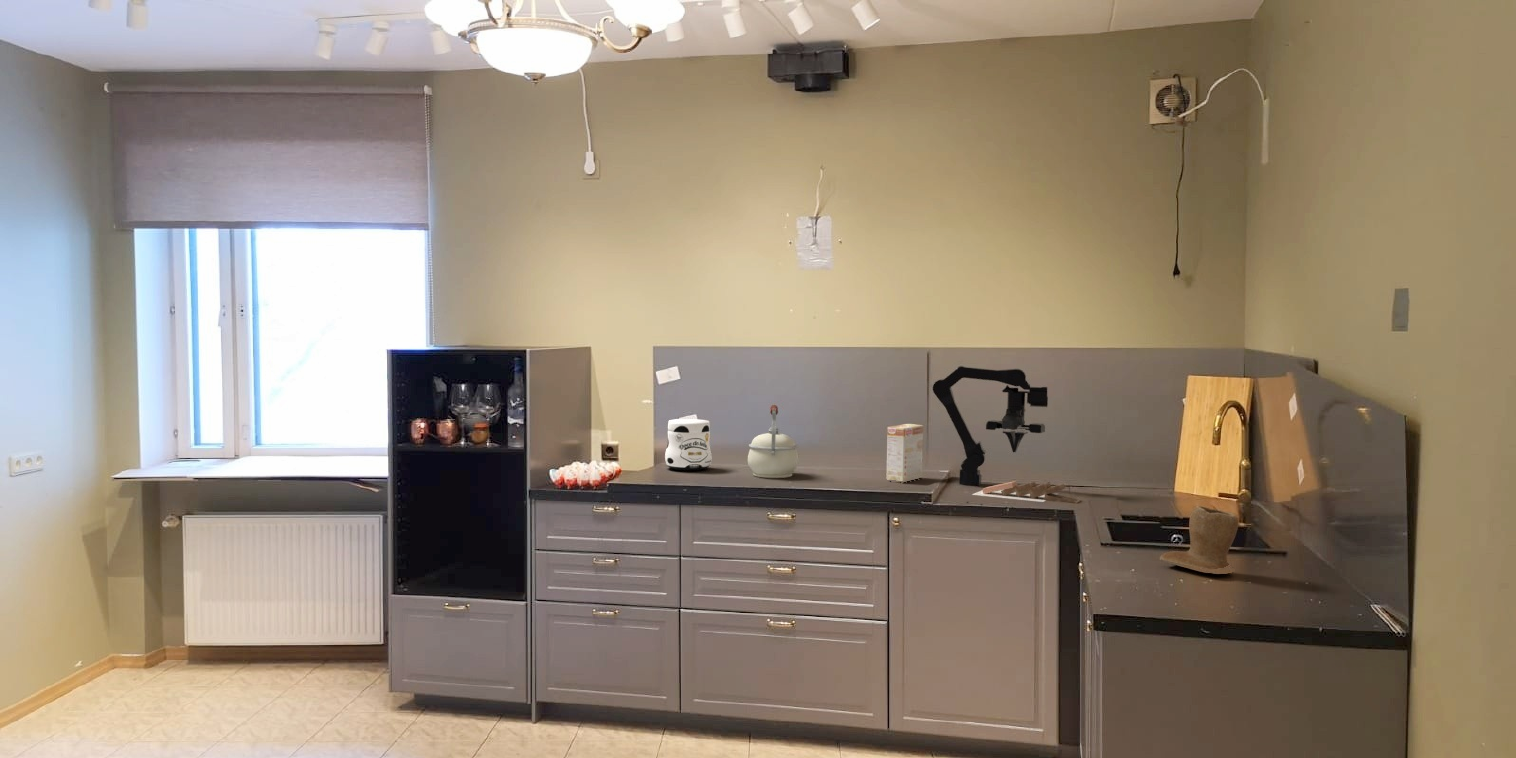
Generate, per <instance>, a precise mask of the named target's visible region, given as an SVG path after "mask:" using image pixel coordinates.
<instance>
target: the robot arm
mask: <svg viewBox="0 0 1516 758" xmlns="http://www.w3.org/2000/svg"><path fill="white" fill-rule="evenodd" d="M1026 376H1027V375H1026V373H1025V372H1024V370H1023V369H1020V368H1007V369H988V368H980V367H979V368H978V367H971V366H970V367H969V366H963V365H960V366H957V367H956V368H955V370H954V371H952V372H951V373H950V374H949V375H947V376H946V377H945V378H940V379H938V380H936V381H935V382H933V385H932V391H933V394H934V395H935V396H936V398H937V399H938V401H939V402H940V403H941V405H943V406H944V407H945V409H946V412H947V414H948V416H949V418H950V420H951V422H952V424H953V426H954V428H955V431H956V432H957V435H958V436H959V438H960V441H961V442H962V445H963V448H964V454H965V457H966V458H965V459H964V460H963V461H962V463H960V469H959V485H961V486H967V487H980V486H982V477H983V476H982V474H981V469H978V468H979V467H981V466H982V465H983V464H984V462H985V460H986V450H985V449H984V448H983V444H982V441H981V440H980V441H978V442H977V441H976V440H975V438H974V437H973V436H972V433H971V431H970V429H969V427H968V425H967V423H966V421H965V419H964V417H963V415H962V413H961V411H960V408H959V407H958V405H957V403H956V401H955V395H954V393H953V389H952V387H953V386H955V385H956V384H957V383H958V382H959V381H960V380H962V379H963V378H964V379H974V380H982V381H983V380H984V381H995V382H999V383H1002V384H1006V386H1005V387H1004V388H1003V389H1002V390H1001V391H1002V393H1007V403H1006V404H1007V408H1006V411H1005V415H1004V416H1003V418H1001V420H995V419H993V420H988V421H987V422H986V423H985V430H989V431H995V430H997V429H1002V434H1005V436H1006V437H1007V439H1008V441H1009V444H1010V446H1011V451H1012V453H1017V451H1018V448H1019V447H1020V444H1021V441H1022V439H1024V437H1025V435H1026V434H1028V433H1029V432H1030V433H1033V434H1043V433H1045V432H1046V424H1044V423H1039V422H1038V423H1037V422H1032V423H1029V424H1026V421H1025V413H1026V407H1025V406H1026V404H1029V406H1030V407H1035V408H1048V387H1047V386H1031V384H1030V383H1029V382H1028V381H1027V380H1026ZM1009 385H1010V386H1013V387H1010V386H1009ZM1019 387H1020V388H1021V389H1023V390H1019ZM1026 396H1027V397H1026Z"/></svg>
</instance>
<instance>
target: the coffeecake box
mask: <svg viewBox="0 0 1516 758" xmlns="http://www.w3.org/2000/svg"><path fill="white" fill-rule="evenodd" d="M886 433H887V437H886V438H887V439H886V441H887V442H886V443H887V444H886V479H887V480H896V481H905V480H910V479H914V478H918V477H922V478H923V455H924V454H923V449H924V447H923V446H924V445H923V443H924V424H923V425H922V424H913V423H903V424H898V425H897V424H896V425H892V426H887V432H886Z"/></svg>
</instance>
